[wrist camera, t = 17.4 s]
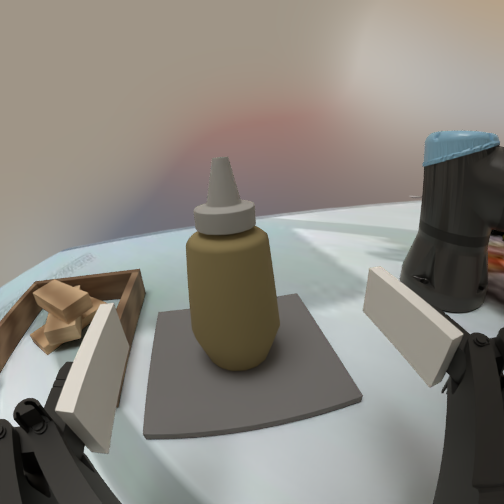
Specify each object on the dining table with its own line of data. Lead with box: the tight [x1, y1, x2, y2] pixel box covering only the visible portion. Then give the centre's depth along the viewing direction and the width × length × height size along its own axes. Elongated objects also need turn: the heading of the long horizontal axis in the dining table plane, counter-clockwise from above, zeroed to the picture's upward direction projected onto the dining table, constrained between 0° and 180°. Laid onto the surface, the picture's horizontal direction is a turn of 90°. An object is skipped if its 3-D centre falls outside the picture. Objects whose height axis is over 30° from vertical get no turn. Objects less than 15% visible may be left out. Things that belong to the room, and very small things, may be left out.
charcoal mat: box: [143, 293, 363, 439], centre depth 26 cm, size 18×18×1 cm
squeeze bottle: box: [186, 157, 280, 371], centre depth 23 cm, size 8×8×18 cm
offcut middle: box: [44, 285, 82, 346], centre depth 30 cm, size 5×11×2 cm, turn 29°
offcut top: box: [33, 279, 93, 325], centre depth 29 cm, size 4×10×2 cm, turn 67°
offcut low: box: [30, 296, 107, 355], centre depth 31 cm, size 5×12×2 cm, turn 157°
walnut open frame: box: [0, 269, 146, 407], centre depth 27 cm, size 22×20×4 cm
